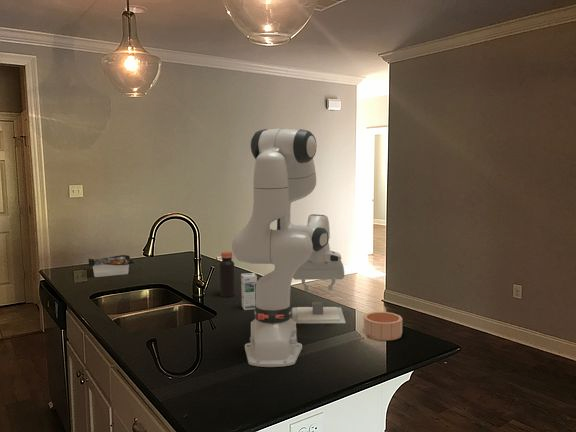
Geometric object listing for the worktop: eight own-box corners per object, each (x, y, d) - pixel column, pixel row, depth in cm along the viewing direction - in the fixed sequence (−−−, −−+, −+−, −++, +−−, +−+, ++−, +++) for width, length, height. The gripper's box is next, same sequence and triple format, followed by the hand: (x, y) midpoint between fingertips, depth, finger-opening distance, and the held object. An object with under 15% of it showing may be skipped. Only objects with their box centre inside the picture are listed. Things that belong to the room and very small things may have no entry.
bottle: (236, 293, 227) (235, 251, 225) (233, 297, 220) (232, 254, 218) (222, 293, 227) (221, 251, 225) (218, 297, 221) (217, 253, 219)
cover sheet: (340, 321, 182) (340, 308, 182) (297, 321, 182) (297, 309, 182) (336, 308, 198) (336, 297, 198) (297, 309, 198) (297, 297, 198)
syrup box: (244, 310, 200) (243, 276, 199) (241, 306, 206) (241, 273, 204) (257, 309, 202) (257, 275, 200) (254, 305, 207) (254, 272, 206)
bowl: (405, 340, 165) (405, 323, 164) (366, 340, 165) (367, 323, 164) (397, 327, 177) (397, 311, 177) (361, 327, 178) (361, 311, 177)
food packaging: (133, 262, 267) (89, 265, 258) (134, 275, 267) (90, 279, 258) (129, 254, 289) (88, 257, 281) (129, 267, 290) (88, 270, 281)
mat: (345, 325, 180) (345, 323, 180) (292, 325, 181) (292, 323, 180) (340, 309, 200) (340, 307, 200) (292, 309, 200) (292, 307, 200)
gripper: (291, 257, 185) (291, 292, 187) (345, 257, 185) (344, 292, 186) (291, 254, 191) (291, 288, 193) (343, 253, 191) (343, 287, 193)
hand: (318, 290), depth 190 cm, fingers open, 8 cm apart
